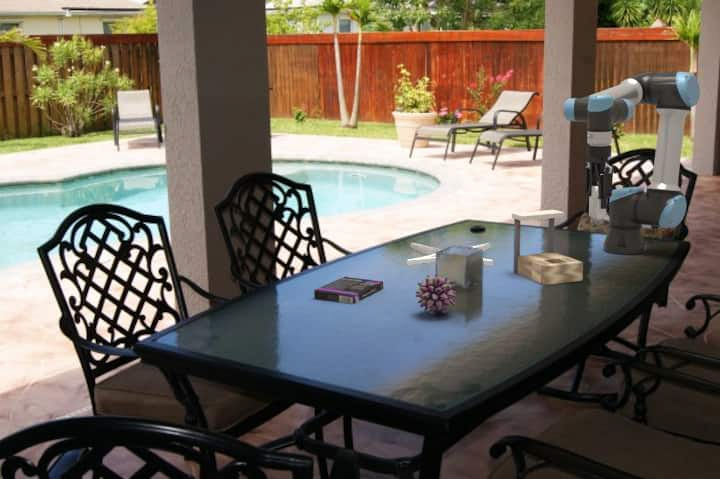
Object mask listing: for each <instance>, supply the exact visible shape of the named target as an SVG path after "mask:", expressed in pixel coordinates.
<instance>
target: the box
mask: <svg viewBox="0 0 720 479" xmlns="http://www.w3.org/2000/svg"><path fill="white" fill-rule="evenodd" d="M383 290H384V281H381V280H372V279H368V278H366V279H365V278H359V277H358V278H356V277H349V276H343V277H341V278H339V279H335V280H334V281H332V282H329V283H327V284H324V285H323V286H321V287H320V286H319V287H318V288H316V289H314V290H313V293H314V297H313V298H314V300H320V301H327V302H336V303H343V304H350V305H351V304H352V305H354V304H356V303H359V302H361V301H363V300H365V299H367V298H368V297H371V296H373V295H374V294H376V293H378V292H380V291H383Z"/></svg>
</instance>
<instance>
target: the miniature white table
mask: <svg viewBox="0 0 720 479" xmlns="http://www.w3.org/2000/svg"><path fill="white" fill-rule="evenodd" d="M511 218H512V219H514V222H513V227H514V228H513V273H514V274H518V256H521V222H524V221H526V222H527V221H534V220H535V221H536V220H546V219H548V223H547V224H548V226H547V230H548V231H547V233H548V234H547V253H549V252H555V222H556V221H555V219H557V218H559V219H561V218H565V212H564V211H560V210H556V209H546V210H535V211H534V210H533V211H522V212H512V213H511Z"/></svg>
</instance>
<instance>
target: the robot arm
mask: <svg viewBox="0 0 720 479" xmlns="http://www.w3.org/2000/svg"><path fill="white" fill-rule="evenodd" d="M700 90H701V89H700V83H699V80H698V79H697V77H696V75H695V74H693V73H691V72H689V71H686V72H685V71H650V72H645V73H641V74H637V75H634V76H632V77H629V78H626V79H623V80H622V81H621V82H620V83H619V84H617V85H615V86H613V87H610V88H607V89H604V90H601V91H599V92H596V93H593V94H590V95H588V96H584V97H581V98H580V97H579V98H577V97H574V98H573V97H572V98H569V99H567V100H566V101H564V104H563V106H562V114H563V117H564V118H565V119H566V120H567V121H569V122H570V121H571V122H576V123H577V122H584V123H585V122H586V123H587V134H586V136H587V141H586V142H587V144H588V145H587V146H586V156H587V157H588V158H589V160H588V162H583V168H584V193H585V194H587V195H588V196H587V197H588V205H589V206H588V217H590V218H591V192H592V185H599V196H600V197H598V211H597V219H607V208H608V205H607V204H608V202H609V213H608V214H609V216H608V230H607V232H606V233H607V234H606V236H605V239H604V242H603V245H602V246H603V247H602V249H603V251H604V252H606V253H610V254H611V253H612V254H618V255H640V254H643V253H646V252H647V244H646V239H645V236H644V233H643V225H645V226H651V227H658V228H669V229H670V228H671V229H672V228H676V227H678V226H679V224H681V222H682V220H683V219H684V216H685V215H686V210H687V200H686V197H685V196H684V195H682V189H681V188H680V186H679V185H678V184H679V176H680V175H679V174H680V165H681V158H682V157H681V156H682V150H683V141H684V133H685V132H684V131H685V124H686V117H687V116H688V115H689V114H690V113H691V111H692V108H693V107H695V106H697V105H698V103H699V101H700V97H701V96H700V95H701V92H700ZM636 105H647V106H656V107H655V111H656V113H658V115H659V118H658V119H659V120H658V128H657V135H656V136H657V137H656V145H655V146H656V147H655V153H654V154H655V156H654V164H653V171H652V172H653V173H652V179H651V180H652V181H651V183H650V184H649V185H648V186H647V187H646V191H645V188H644V187H642V186H629V187H621V188H615V189H613V180H614V179H613V178H614V172H615V167H614V166H611V165H610V162H609V158H611V156H612V146H611V144H612V143H613V124H619V123H620V124H622V123H625V122H627V121H630V120H631V119H632V117H633V116H634V110H635V108H634V106H636ZM608 199H609V201H608Z"/></svg>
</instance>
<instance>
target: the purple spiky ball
mask: <svg viewBox="0 0 720 479" xmlns="http://www.w3.org/2000/svg"><path fill="white" fill-rule="evenodd" d="M448 279H449V277H448V276H447V275H446V276H445V277H443V278H442V273H439V274H438V272H437V273H434V276H433V277H432V276H431V275H430V274H426V277H425V281H424V280H421V281H418V282H417V283H416V284H417V286H419V287H418V289H417V290H415V297H416V298H420V299H419V300H418V301H417V304H419V307H420V308H424V309H423V311H425V312H426V311H427V310H428V309H429V311H430V315H437V312H438V310H439V311H441V312H442V314H446V310H447V309H448V308H447V306H448V307H452V306H454V305H455V304H456V303H455V302H454V301H453V298H455V297H456V296H457V295H458V293H457V291H454V290H452V289H453V288H454V287H455V286H456V284H451V282H452V280H451V279H449V280H448ZM456 294H457V295H456ZM456 298H457V297H456Z"/></svg>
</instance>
